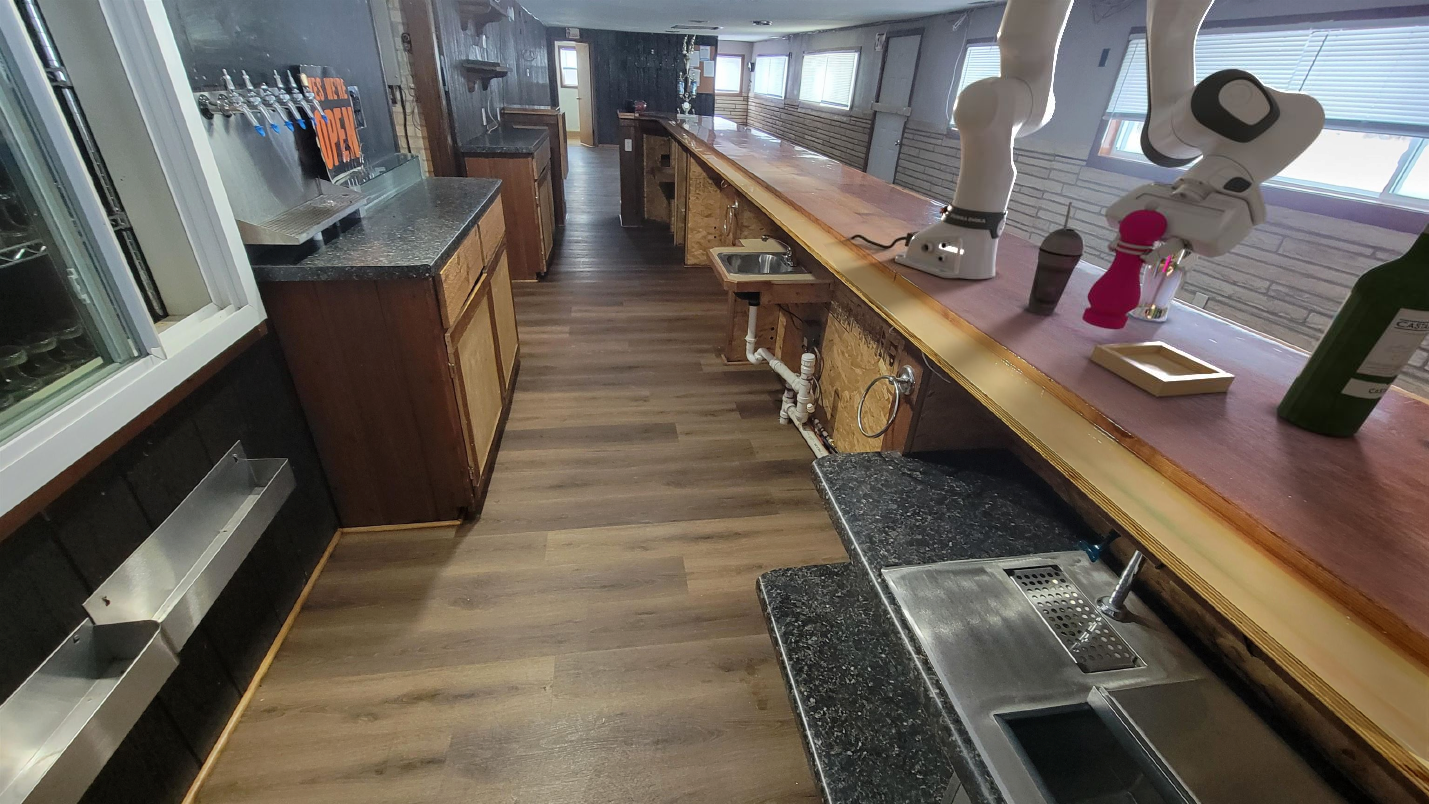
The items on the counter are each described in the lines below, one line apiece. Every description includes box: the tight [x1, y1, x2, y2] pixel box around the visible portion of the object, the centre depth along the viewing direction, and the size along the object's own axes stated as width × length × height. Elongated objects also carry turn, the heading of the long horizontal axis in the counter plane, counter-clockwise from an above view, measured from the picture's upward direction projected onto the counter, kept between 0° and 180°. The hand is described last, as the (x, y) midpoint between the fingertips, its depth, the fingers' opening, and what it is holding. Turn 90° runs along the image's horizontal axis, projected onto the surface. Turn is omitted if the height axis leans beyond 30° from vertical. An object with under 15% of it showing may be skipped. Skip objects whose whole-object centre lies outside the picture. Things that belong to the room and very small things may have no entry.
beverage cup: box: [1027, 201, 1085, 316], centre depth 104 cm, size 7×7×20 cm
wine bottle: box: [1276, 221, 1429, 438], centre depth 67 cm, size 8×8×30 cm
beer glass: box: [1128, 242, 1200, 323], centre depth 105 cm, size 7×7×15 cm
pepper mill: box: [1081, 199, 1167, 330], centre depth 90 cm, size 7×7×20 cm
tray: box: [1089, 341, 1236, 398], centre depth 85 cm, size 12×12×2 cm
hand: (1127, 256), depth 90 cm, fingers closed on pepper mill, 5 cm apart
